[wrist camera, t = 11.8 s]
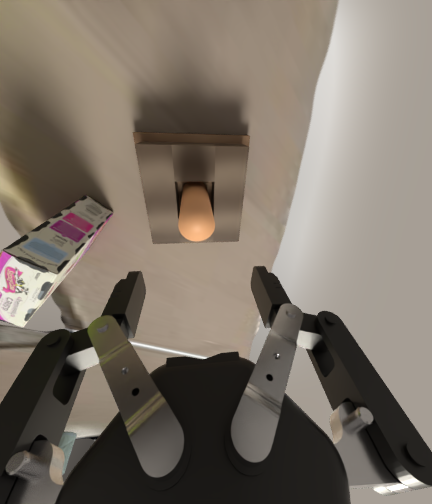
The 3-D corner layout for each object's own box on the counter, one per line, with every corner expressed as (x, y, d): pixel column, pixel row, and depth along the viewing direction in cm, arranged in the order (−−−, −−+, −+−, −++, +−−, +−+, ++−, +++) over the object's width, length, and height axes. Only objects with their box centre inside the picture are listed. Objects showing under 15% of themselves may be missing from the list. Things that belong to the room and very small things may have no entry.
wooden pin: (181, 179, 29) (176, 208, 20) (207, 179, 30) (215, 208, 20) (183, 204, 32) (179, 242, 22) (207, 204, 32) (214, 240, 22)
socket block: (135, 132, 27) (124, 134, 22) (247, 135, 28) (257, 137, 24) (153, 233, 36) (147, 249, 31) (237, 231, 37) (243, 246, 33)
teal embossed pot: (82, 435, 91) (69, 473, 81) (64, 439, 91) (49, 478, 82) (67, 429, 85) (50, 470, 75) (47, 434, 86) (28, 475, 76)
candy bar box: (84, 192, 30) (-1, 248, 17) (114, 211, 33) (60, 274, 19) (57, 239, 34) (-30, 314, 21) (85, 253, 37) (23, 330, 23)
